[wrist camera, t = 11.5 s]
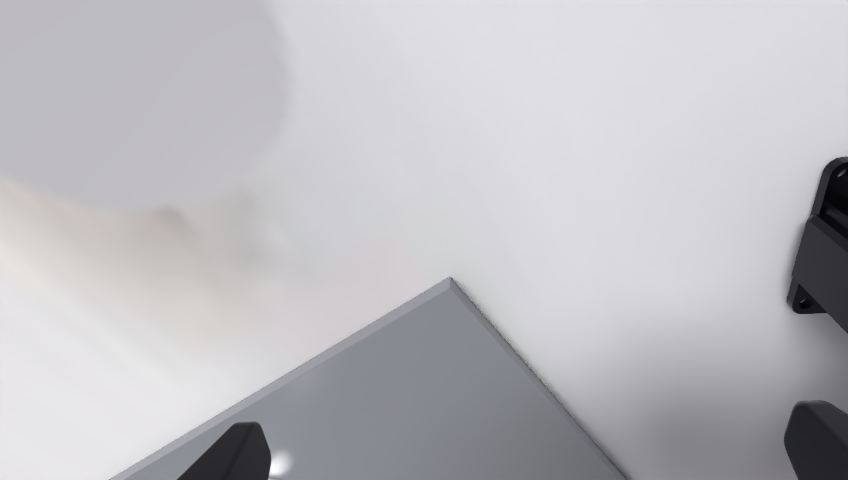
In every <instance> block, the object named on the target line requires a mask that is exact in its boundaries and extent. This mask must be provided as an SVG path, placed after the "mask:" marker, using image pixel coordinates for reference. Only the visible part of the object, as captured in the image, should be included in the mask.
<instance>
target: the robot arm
mask: <svg viewBox="0 0 848 480" xmlns="http://www.w3.org/2000/svg"><path fill="white" fill-rule="evenodd" d="M843 169H846V171H845V173H844V174H843V175H841V176H839V177H837V175H838V174H839V172H840V171H842V170H843ZM792 276H793V279H792V283H791V286H790V290H789V293H788V297H787V303H788V305H789V306H790V307H791V308H792V310H793V311H794V312H796V313H798V314H814V313H828V314H829V315H830V316H831V317H832V318H833V319H834V320H835V321H836V322H837V323H838V324H839V325H840V326H841V327H842V328H843V329H844V330H845V331H846V332H847V333H848V157H840V158H836V159H834V160H833V161H831V162H830V163H829V164H828V165H827V166H826V167H825V169H824V171H823V174H822V177H821V181H820V184H819V188H818V191H817V195H816V198H815V202H814V205H813V209H812V212H811V216H810V218H809V219H808V221H807V223H806V226H805V230H804V234H803V237H802V241H801V244H800V248H799V251H798V255H797V258H796V262H795V265H794V269H793V273H792ZM804 299H806V300H805V301H803V302H801V301H802V300H804ZM800 302H801V303H800ZM784 444H785V448H786V451H787V454H788V456H789V459H790V461H791V463H792V466H793V468H794V471H795V473H796V476H797V478H798V480H848V414H846V413H845V412H843V411H841V410H840V409H838V408H837V407H835V406H834V405H832V404H830V403H828V402H826V401H800V402H798V403H796V404H795V405H794V407H793V410H792V413H791V416H790V419H789V422H788V425H787V428H786V431H785V435H784ZM270 467H271V452H270V448H269V446H268V443H267V440H266V438H265V435H264V432H263V430H262V427H261V425H260V424H259V423H258V422H256V421H246V422H236V423H234V424H233V425H232V426H230V427H229V428H228V429H227V430H226V431H225V432H224V433H223V434H222V435H221V436H220V437H219V438H218V439H217V440H216V441H215V442H214V443H213V444H212V445H211V446H210V447H209V448H208V449H207V450H206V451H205V452H204V453H203V454H202V455H201V456H200V457H199V458H198V459H197V460H196V461H195V462H194V463H193V464H192V465H191V466H190V467H189V468H188V469H187V470H186V471H185V472H184V473H183V474H182V475H181V476H180V477H179V478H177V479H176V480H268V478H269V472H270Z"/></svg>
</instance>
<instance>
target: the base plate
mask: <svg viewBox="0 0 848 480" xmlns="http://www.w3.org/2000/svg"><path fill="white" fill-rule="evenodd" d="M246 421H256V422H258V423H259V424H260V425H261V427H262V430H263V432H264V435H265V438H266V440H267V443H268V446H269V448H270V452H271V467H270V472H269V478H268V480H626V479H625V477H624V476H623V475H622V474H621V473H620V472H619V471H618V469H617V468H616V467H615V466H614V465H613V464H612V463H611V461H610V460H609V459H608V458H607V457H606V456H605V454H604V453H603V452H602V451H601V450H600V449H599V448H598V446H597V445H596V444H595V443H594V442H593V441H592V440H591V438H590V437H589V436H588V435H587V434H586V433H585V432H584V430H583V429H582V428H581V427H580V426H579V425H578V423H577V422H576V421H575V420H574V419H573V418H572V417H571V415H570V414H569V413H568V412H567V411H566V410H565V409H564V407H563V406H562V405H561V404H560V403H559V402H558V401H557V399H556V398H555V397H554V396H553V395H552V394H551V392H550V391H549V390H548V389H547V388H546V387H545V386H544V384H543V383H542V382H541V381H540V380H539V379H538V378H537V376H536V375H535V374H534V373H533V372H532V371H531V369H530V368H529V367H528V366H527V365H526V364H525V363H524V361H523V360H522V359H521V358H520V357H519V356H518V355H517V353H516V352H515V351H514V350H513V349H512V348H511V347H510V345H509V344H508V343H507V342H506V341H505V340H504V338H503V337H502V336H501V335H500V334H499V333H498V332H497V330H496V329H495V328H494V327H493V326H492V325H491V324H490V322H489V321H488V320H487V319H486V318H485V317H484V316H483V314H482V313H481V312H480V311H479V310H478V309H477V307H476V306H475V305H474V304H473V303H472V302H471V301H470V299H469V298H468V297H467V296H466V295H465V294H464V293H463V291H462V290H461V289H460V288H459V287H458V286H457V284H456V283H455V282H454V281H453V280H452V279H451V278H450V277H449V278H447V279H445V280H444V281H442V282H440V283H439V284H437V285H435V286H434V287H432V288H430V289H429V290H427V291H425V292H424V293H422V294H420V295H419V296H417V297H415V298H414V299H412V300H410V301H408V302H407V303H405V304H403V305H402V306H400V307H398V308H397V309H395V310H393V311H392V312H390V313H388V314H387V315H385V316H383V317H382V318H380V319H378V320H377V321H375V322H373V323H372V324H370V325H368V326H367V327H365V328H363V329H361V330H360V331H358V332H356V333H355V334H353V335H351V336H350V337H348V338H346V339H345V340H343V341H341V342H340V343H338V344H336V345H335V346H333V347H331V348H330V349H328V350H326V351H325V352H323V353H321V354H319V355H318V356H316V357H314V358H313V359H311V360H309V361H308V362H306V363H304V364H303V365H301V366H299V367H298V368H296V369H294V370H293V371H291V372H289V373H288V374H286V375H284V376H283V377H281V378H279V379H278V380H276V381H274V382H272V383H271V384H269V385H267V386H266V387H264V388H262V389H261V390H259V391H257V392H256V393H254V394H252V395H251V396H249V397H247V398H246V399H244V400H242V401H241V402H239V403H237V404H236V405H234V406H232V407H230V408H229V409H227V410H225V411H224V412H222V413H220V414H219V415H217V416H215V417H214V418H212V419H210V420H209V421H207V422H205V423H204V424H202V425H200V426H199V427H197V428H195V429H194V430H192V431H190V432H189V433H187V434H185V435H183V436H182V437H180V438H178V439H177V440H175V441H173V442H172V443H170V444H168V445H167V446H165V447H163V448H162V449H160V450H158V451H157V452H155V453H153V454H152V455H150V456H148V457H147V458H145V459H143V460H141V461H140V462H138V463H136V464H135V465H133V466H131V467H130V468H128V469H126V470H125V471H123V472H121V473H120V474H118V475H116V476H115V477H113V478H111V479H110V480H176V479H177V478H179V477H180V476H181V475H182V474H183V473H184V472H185V471H186V470H187V469H188V468H189V467H190V466H191V465H192V464H193V463H194V462H195V461H196V460H197V459H198V458H199V457H200V456H201V455H202V454H203V453H204V452H205V451H206V450H207V449H208V448H209V447H210V446H211V445H212V444H213V443H214V442H215V441H216V440H217V439H218V438H219V437H220V436H221V435H222V434H223V433H224V432H225V431H226V430H227V429H228V428H229V427H230V426H232V425H233V424H234V423H236V422H246Z"/></svg>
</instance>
